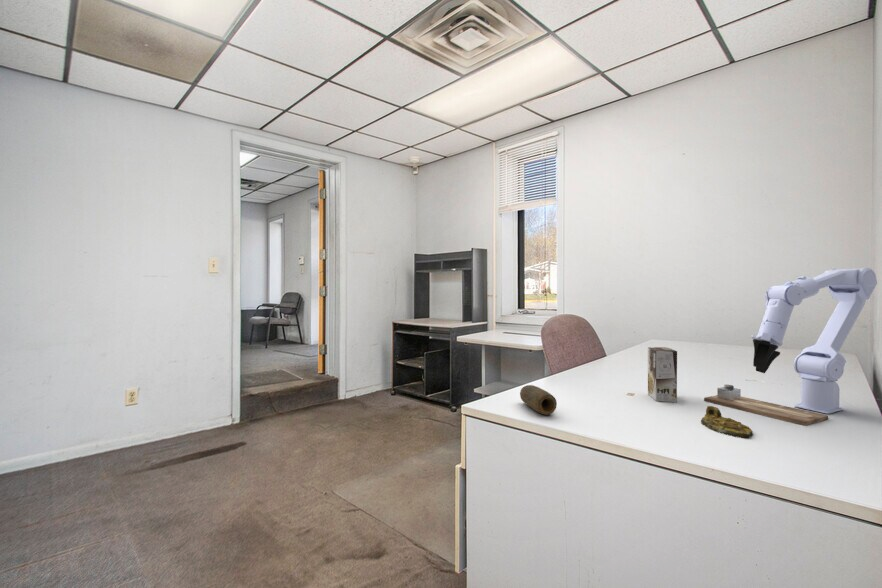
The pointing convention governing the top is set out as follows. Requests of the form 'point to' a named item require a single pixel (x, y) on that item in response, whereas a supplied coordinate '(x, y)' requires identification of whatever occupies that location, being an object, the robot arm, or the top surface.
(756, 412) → the counting board
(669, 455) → the top surface
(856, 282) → the robot arm
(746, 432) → the seal
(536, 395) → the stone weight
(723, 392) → the knob
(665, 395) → the coffee box
